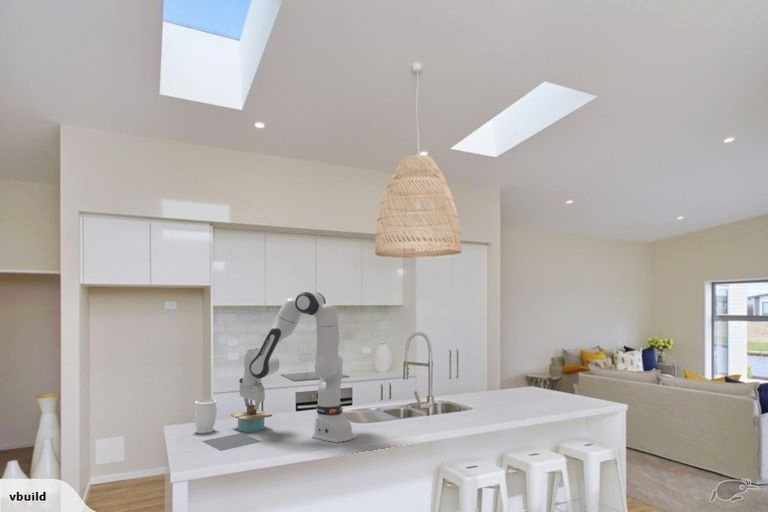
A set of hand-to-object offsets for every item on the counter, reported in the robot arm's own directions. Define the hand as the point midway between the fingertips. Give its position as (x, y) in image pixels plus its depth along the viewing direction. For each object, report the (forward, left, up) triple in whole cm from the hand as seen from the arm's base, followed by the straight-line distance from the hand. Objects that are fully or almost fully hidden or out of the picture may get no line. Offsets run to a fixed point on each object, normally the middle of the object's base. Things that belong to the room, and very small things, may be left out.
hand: (251, 407), depth 248 cm
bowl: (0, 0, -11) cm, 11 cm away
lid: (0, 0, -4) cm, 4 cm away
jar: (+12, +19, -11) cm, 25 cm away
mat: (-15, +18, -11) cm, 26 cm away
